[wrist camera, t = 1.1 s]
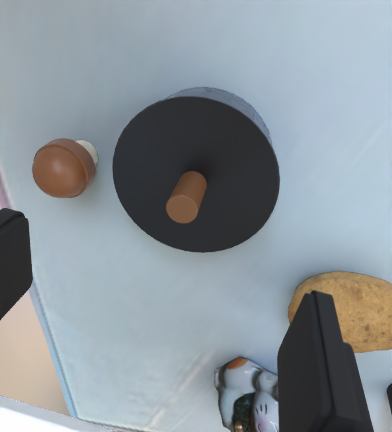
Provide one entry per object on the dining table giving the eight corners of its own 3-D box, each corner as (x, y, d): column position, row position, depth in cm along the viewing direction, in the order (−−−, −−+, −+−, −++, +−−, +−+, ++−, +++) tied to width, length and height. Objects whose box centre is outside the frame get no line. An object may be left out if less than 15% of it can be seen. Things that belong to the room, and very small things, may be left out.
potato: (396, 319, 44) (420, 375, 38) (283, 311, 47) (286, 361, 40) (415, 258, 40) (446, 309, 33) (288, 252, 42) (292, 298, 35)
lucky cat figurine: (210, 350, 53) (241, 418, 40) (283, 336, 56) (335, 395, 42) (216, 432, 57) (247, 520, 43) (284, 415, 59) (333, 494, 46)
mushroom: (55, 165, 42) (15, 194, 35) (63, 120, 39) (21, 142, 32) (101, 186, 42) (70, 218, 36) (113, 142, 39) (82, 169, 32)
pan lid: (100, 209, 37) (73, 241, 32) (143, 61, 29) (116, 72, 23) (234, 268, 38) (228, 309, 32) (313, 141, 29) (323, 168, 24)
